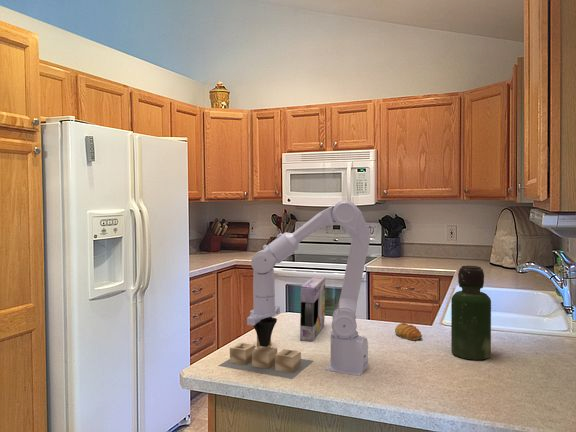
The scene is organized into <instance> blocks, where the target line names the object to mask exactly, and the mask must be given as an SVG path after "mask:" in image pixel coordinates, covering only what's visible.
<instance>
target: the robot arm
mask: <svg viewBox="0 0 576 432" xmlns="http://www.w3.org/2000/svg"><path fill="white" fill-rule="evenodd" d="M335 222H336V223H337V224H339V226H341V227H343V228H344V229H345V230H346V232H347V234H348V235H349V236H350V238H351V243H350V248H349V252H348V256H347V257H348V258H347V262H346V267H345V271H344V278H343V282H342V286H341V292H340V295H339V299H338V300H339V301H338V305H337V306H336V308H335V309H334V311H333V312H332V318H331V319H332V321H331V331H330V333H329V334H330V364H329V365H327V366H326V367H325V369H324V370H326V371H330V372H335V373H342V374H348V375H354V376H362V374H364V372H365V371H366V369H368V368H369V342H368V339H367V337H365V336H362V335H360V334H359V332H358V331H357V329H358V328H357V325H358V324H357V320H356V319H357V317H356V316H357V315H356V313H357V306H358V300H359V299H358V298H359V294H360V289H361V286H362V279H363V275H364V271H365V265H366V260H367V255H368V252H369V246H370V241H371V231H370V229H369V227H368V224H367V222H366V219H365V217H364V216H363V212H362V211H361V210H360V209H359V208H358V206H357V205H356V204H355V203H354V202H353V201H350V200H346V199H344V200H340V201H338V202H337V203H336V204H335V205H332V206H330V207H328V208H325V209H323V210H322V211H320V212H318V213H317V214H316V215H314V216H312V218H310V219H309V220H308V221H306V222H305V223H303V225H301V226H300V227H299V228H298V229H296V230H295V231H294V232H292V233H291V232H283V233H281V232H280V233H279V234H277V235H276V238H275V239H274V240H272V242H269V243H268V244H264V245H263V246H262V248H263V249H262V250H260V251H256V253H255V254H253V256H252V258H251V262H250V265H251V268H252V269H253V270H252V271H253V279H252V289H253V290H252V292H253V293H252V294H253V295H252V297H253V301H252V303H253V306H252V307H253V309H251V310H250V311H249V314H250V315H249V316H248V317H247V318H246V325H247V326H252V327H253V328H254V331H255V334H256V337H257V336H258V340H259V344H260V346H263V347H267V346H269V343H270V339H271V340H272V333H273V329H274V328H275V326H276V323H277V321H278V319H277V318H276V317H275V316H276V315H279V314H281V313H280V312H281V309H280V308H281V307H280V306H278V305H276V303H275V302H276V301H275V300H276V298H275V297H276V296H275V290H276V289H275V272H274V271H275V266H276V264H280V263H282V262H283V261H285V260H286V259H287V258H289V257H290V256H292V255H293V254H295V252H297V251H298V250H299V246H300V245H299V244H300V243H301V242H302V241H304V240H305V239H306V238H309V236H311V235H312V234H314V233H315V232H317V231H318V230H319V229H321V228H322V227H326V226H334V225H335Z"/></svg>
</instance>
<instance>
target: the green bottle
mask: <svg viewBox="0 0 576 432" xmlns="http://www.w3.org/2000/svg"><path fill="white" fill-rule="evenodd" d="M457 277H458V283H457V284H459V285H458V286H459V288H461V290H458V291H456V292H454V293H453V295H452V297H451V302H450V303H451V307H450V309H451V311H450V313H451V314H450V315H451V320H450V321H451V322H450V323H451V326H450V327H451V328H450V329H451V330H450V331H451V334H450V335H451V336H450V337H451V340H450V341H451V343H450V344H451V345H450V346H451V347H450V349H451V353H452V354H454V356H456V357H458V358H462V359H465V360H471V361H472V360H473V361H474V360H475V361H477V360H479V361H480V360H481V361H482V360H486V359H489V358H490V357H491V355H492V300H491V297H490V296H489V295H488V294H487V293H485V292H483V291H481V289H483V288H484V284H485V273H484V269H483V268H482V267H481V266H477V265H462V266H461V267H459V270H458V274H457Z"/></svg>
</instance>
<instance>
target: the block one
mask: <svg viewBox="0 0 576 432" xmlns="http://www.w3.org/2000/svg"><path fill="white" fill-rule="evenodd" d="M301 359H302V352H301V351H298V350H292V349H285V348H283V349H282V350H280V351H278V352H277V354H276V355H275V370H278V371H284V372H290V373H294V372H295V371H296V370H297V369H299V368H300V367H301Z"/></svg>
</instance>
